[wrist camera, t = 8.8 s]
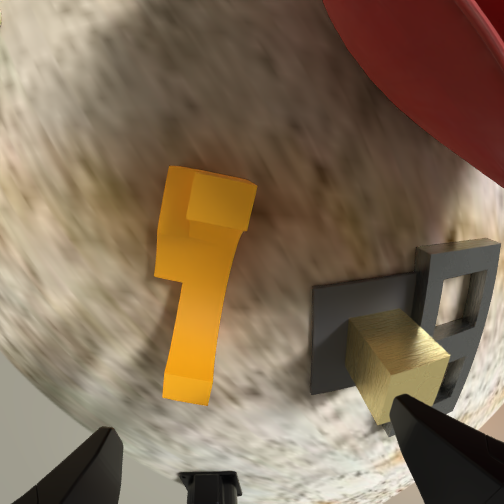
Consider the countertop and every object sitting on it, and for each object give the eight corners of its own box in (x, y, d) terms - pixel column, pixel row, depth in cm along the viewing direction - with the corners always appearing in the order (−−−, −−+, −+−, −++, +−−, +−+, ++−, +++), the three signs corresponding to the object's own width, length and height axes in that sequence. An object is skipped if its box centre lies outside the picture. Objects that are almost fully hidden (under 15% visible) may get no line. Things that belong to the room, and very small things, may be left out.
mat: (409, 367, 23) (411, 370, 23) (310, 392, 23) (311, 395, 23) (428, 269, 21) (430, 270, 20) (312, 286, 20) (314, 289, 20)
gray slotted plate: (444, 401, 26) (452, 410, 24) (381, 424, 26) (388, 437, 24) (486, 237, 20) (500, 243, 19) (416, 246, 20) (431, 254, 18)
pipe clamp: (179, 165, 17) (153, 165, 11) (247, 179, 18) (257, 185, 12) (154, 333, 20) (132, 390, 14) (211, 344, 21) (207, 405, 15)
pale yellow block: (392, 354, 22) (432, 405, 15) (344, 365, 22) (377, 425, 15) (399, 308, 21) (450, 355, 14) (348, 318, 21) (391, 375, 14)
